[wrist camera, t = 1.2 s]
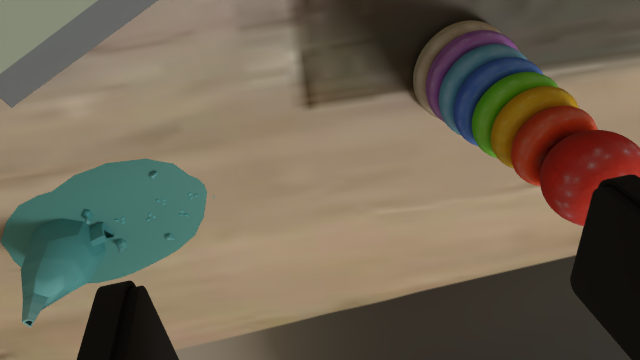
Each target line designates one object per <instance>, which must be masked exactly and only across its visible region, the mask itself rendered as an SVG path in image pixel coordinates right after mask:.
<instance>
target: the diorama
mask: <svg viewBox="0 0 640 360" xmlns="http://www.w3.org/2000/svg"><path fill="white" fill-rule="evenodd" d="M206 196H207V191H206V188H205V186H204V184H203V183H202V182H201V181H200V180H198V179H197V178H194V177H192V176H190V175H188V174H187V173H185V172H184V171H183V170H181V169H180V168H178V167H177V166H176V165H174V164H172V163H166V162H160V161H154V160H150V159H140V160H131V161H123V162H114V163H106V164H104V165H101V166H99V167H96V168H94V169H91V170H88V171H85V172H83V173H80V174H77V175H74V176H73V177H72V178H70V179H69V180H67V181H66V182H64V183H63V184H62V185H60V186H59V187H57V188H56V189H55V190H53V191H52V192H49V193H45V194H42V195H39V196H37V197H35V198H33V199H31V200H29V201H27V202H25V203H23V204H21V205H19V206H18V207H17V209H16V210H15V211H14V213H13V214H12V215H11V217H10V218H9V219H8V221H7V223H6V226H5V230H4V233H3V236H2V239H1V243H2V244H3V246H4V247H5V248H6V249H7V251H8V252H9V253H10V255H11V257H12V259H13V260H14V261H15V262H16V263H17V264H18V265H19V266H20V267H21V277H22V291H23V311H22V322H23V323H24V324H26V325H27V326H29V327H31V326H32V324H33V323H34V321H35V319H36V318H37V316H38V314H39V313H40V311H41V310H42V309H44V308H46V307H47V306H49V305H50V304H52V303H54V302H55V301H57V300H59V299H60V298H62V297H64V296H65V295H67V294H69V293H70V292H72V291H74V290H76V289H77V288H79V287H81V286H83V285H84V284H86V283H99V282H104V281H108V280H113V279H117V278H121V277H123V276H126V275H129V274H132V273H134V272H136V271H138V270H140V269H143V268H145V267H147V266H149V265H151V264H153V263H155V262H157V261H159V260H161V259H163V258H165V257H167V256H168V255H170V254H171V253H173V252H175V251H176V250H178V249H179V248H181V247H182V246H183V245H184V244H185V243H186V242H187V241H189V240H190V239H191V238H192V237H193V236H194V235H195V234H196V232H197V229H198V227H199V225H200V223H201V221H202V219H203V218H204V211H205V204H206ZM214 197H215V196H214Z"/></svg>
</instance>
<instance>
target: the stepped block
mask: <svg viewBox="0 0 640 360" xmlns="http://www.w3.org/2000/svg"><path fill="white" fill-rule="evenodd" d="M156 1H158V0H0V98H1V99H2V100H3V101H4V102H5V103H7V104H8V105H9V106H10V107H11V108H12V107H13V106H15V105H16V104H17V103H19V102H20V101H22V100H23V99H24V98H26V97H27V96H28V95H30V94H31V93H32V92H34V91H35V90H37V89H38V88H39V87H41V86H42V85H43V84H45V83H46V82H47V81H49V80H50V79H51V78H53V77H54V76H56V75H57V74H58V73H60V72H61V71H62V70H64V69H65V68H66V67H68V66H69V65H71V64H72V63H73V62H75V61H76V60H77V59H79V58H80V57H81V56H83V55H84V54H86V53H87V52H88V51H90V50H91V49H92V48H94V47H95V46H96V45H98V44H99V43H101V42H102V41H103V40H105V39H106V38H107V37H109V36H110V35H111V34H113V33H114V32H116V31H117V30H118V29H120V28H121V27H122V26H124V25H125V24H126V23H128V22H129V21H131V20H132V19H133V18H135V17H136V16H137V15H139V14H140V13H141V12H143V11H144V10H146V9H147V8H148V7H150V6H151V5H152V4H154V3H155V2H156Z"/></svg>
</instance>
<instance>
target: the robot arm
mask: <svg viewBox="0 0 640 360" xmlns="http://www.w3.org/2000/svg"><path fill="white" fill-rule="evenodd" d="M570 280H571V286H572V289H573V291H574V293H575V294H576V295H577V296H578V298H579V299H580V300H581V301H582V302H583V303H584V304H585V306H586V307H587V308H588V309H589V310H590V312H591V313H592V314H593V315H594V316H595V317H596V319H597V320H598V321H599V322H600V323H601V324H602V326H603V327H604V328H605V329H606V330H607V331H608V333H609V334H610V335H611V336H612V337H613V338H614V340H615V341H616V342H617V343H618V344H619V345H620V346H621V348H622V349H623V350H624V351H625V352H626V354H627V355H628V356H629V357H630V358H631V359H632V360H640V177H638V176H636V175H632V174H629V175H624V176H619V177H615V178H610V179H606V180H603V181H602V182H601V183H600V184H599V186H598V188H597V189H595V190H594V192H593V194H592V197H591V201H590V205H589V209H588V213H587V216H586V220H585V224H584V228H583V232H582V236H581V239H580V243H579V247H578V251H577V255H576V258H575V262H574V266H573V270H572V274H571V279H570ZM77 360H179V359H178V357H177V355H176V352H175V350H174V348H173V346H172V344H171V342H170V339H169V337H168V335H167V333H166V331H165V329H164V327H163V324H162V322H161V320H160V318H159V316H158V314H157V312H156V309H155V307H154V305H153V303H152V301H151V299H150V297H149V294H148V292H147V290H146V288H145V287H144V286H138V287H136V286H135V284H134V283H133V282H132V281H125V282H120V283H116V284H111V285H106V286H102V287H100V288H98V290H97V292H96V295H95V298H94V302H93V305H92V309H91V312H90V316H89V319H88V322H87V326H86V329H85V333H84V336H83V340H82V343H81V347H80V350H79V353H78V357H77Z"/></svg>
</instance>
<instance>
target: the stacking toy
mask: <svg viewBox="0 0 640 360" xmlns="http://www.w3.org/2000/svg"><path fill="white" fill-rule="evenodd" d="M413 86H414V91H415V95H416V97H417V99H418V101H419V103H420V104H421V106H422V107H423V108H424V109H425V110H426V111H427V112H428V113H430V114H431V115H433V116H435V117H437V118H439V119H441V120H442V121H443V122H445V123H446V124H447V125H448V126H449V127H450V128H451V129H452V130H453V131H454V132H456V133H457V134H459V135H462V136H463V138H464V139H466V140H467V141H468V142H470V143H472V144H474V145H476V146H479V147H480V148H481V150H483V151H484V152H485V153H487V154H488V155H490V156H492V157H495V158H498V159H499V160H500V161H501V162H502V163H503V164H505V165H507V166H509V167H511V168H514V169H515V171H516V173H517V174H518V175H519V176H520V177H521V178H522V179H523V180H525V181H526V182H528V183H530V184H533V185H537V186H541V190H542V193H543V196H544V198H545V200H546V201H547V203H548V204H549V206H550V207H551V208H552V209H553V210H554V211H555V212H556V213H557V214H559V215H560V216H561V217H562V218H564V219H566V220H568V221H570V222H572V223H575V224H578V225H582V226H584V224H585V220H586V216H587V213H588V209H589V205H590V201H591V197H592V194H593V192H594V190H595V189H597V188H598V186H599V184H600V183H601V182H602V181H603V180H606V179H610V178H615V177H619V176H624V175H629V174H632V175H636V176H638V177H640V148H639V147H638V146H637V145H636V144H635V143H634V142H632V141H631V140H629V139H628V138H626V137H624V136H622V135H619V134H617V133H614V132H610V131H604V130H598V129H597V126H596V124H595V122H594V120H593V119H592V117H591V116H590V115H589V114H587V113H586V112H585V111H583V110H581V109H579V107H578V105H577V102H576V101H575V99H574V98H573V97H572V96H571V95H570V94H569V93H568V92H566V91H565V90H563V89H561V88H559V87H558V86H557V84H556V83H555V82H554V81H553V80H552V79H550V78H549V77H547V76H545V75H543V73H542V72H541V70H540V69H539V68H538V67H537V66H536V65H535V64H533V63H532V62H530V61H528V60H527V58H526V57H525V56H524V55H523V54H522V53H521V52H519V50H518V48H517V47H516V45H515V44H514V43H513V42H512V41H511V40H510V39H509V38H508V37H506V36H505V35H503V34H501V33H500V32H499V31H498V30H497V29H496V28H495V27H493V26H491V25H489V24H487V23H484V22H481V21H473V20H469V21H461V22H458V23H454V24H452V25H450V26H448V27H446V28H444V29H442V30H441V31H440V32H438V33H437V34H436V35H435V36H433V37H432V38H431V39H430V40H429V42H428V43H427V44H426V45H425V47H424V48H423V49H422V51H421V53H420V55H419V57H418V59H417V62H416V65H415V68H414V74H413Z"/></svg>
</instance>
